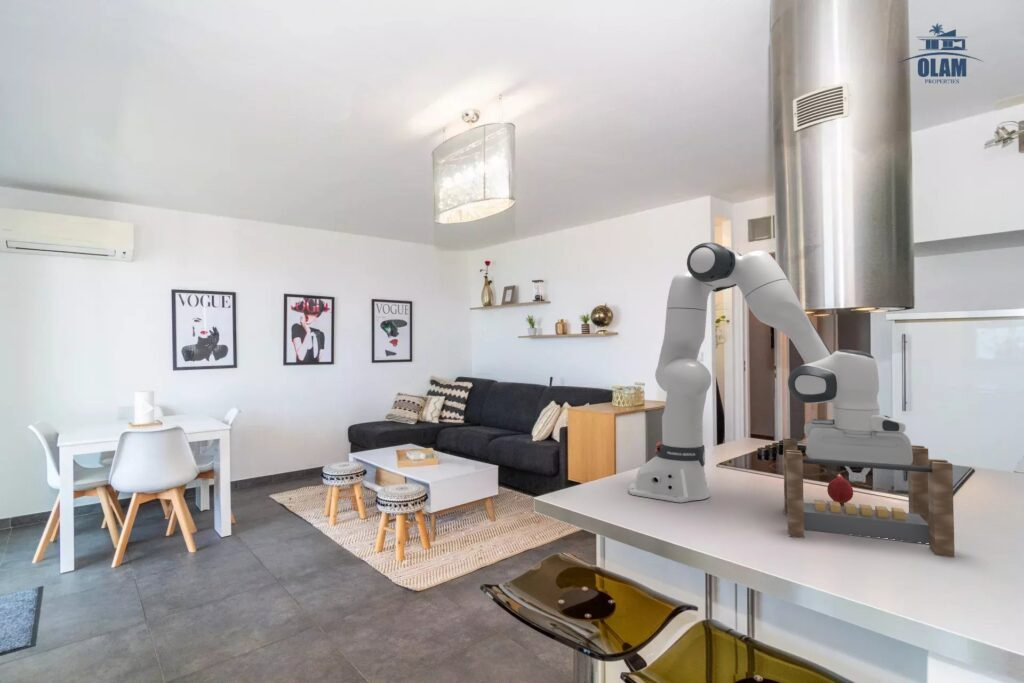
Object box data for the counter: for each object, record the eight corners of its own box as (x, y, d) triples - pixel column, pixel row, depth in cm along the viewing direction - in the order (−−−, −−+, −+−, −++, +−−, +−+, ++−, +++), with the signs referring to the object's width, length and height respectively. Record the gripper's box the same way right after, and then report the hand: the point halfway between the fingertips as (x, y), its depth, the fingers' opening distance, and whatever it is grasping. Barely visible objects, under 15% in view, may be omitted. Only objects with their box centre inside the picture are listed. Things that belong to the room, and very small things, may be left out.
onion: (857, 509, 133) (857, 477, 133) (833, 507, 134) (832, 476, 134) (847, 502, 138) (847, 472, 138) (824, 501, 140) (823, 471, 140)
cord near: (792, 462, 116) (791, 457, 116) (791, 461, 117) (791, 456, 117) (947, 474, 104) (947, 468, 104) (945, 473, 105) (945, 467, 105)
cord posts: (788, 536, 115) (787, 453, 115) (784, 509, 133) (783, 438, 133) (954, 557, 102) (952, 464, 103) (924, 524, 120) (923, 445, 121)
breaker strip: (799, 528, 119) (799, 504, 119) (797, 518, 126) (796, 495, 126) (929, 544, 109) (929, 517, 109) (918, 531, 116) (918, 506, 116)
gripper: (805, 420, 119) (806, 480, 119) (914, 425, 111) (915, 489, 111) (802, 416, 125) (803, 474, 125) (906, 421, 116) (908, 482, 116)
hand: (857, 481), depth 118 cm, fingers closed
